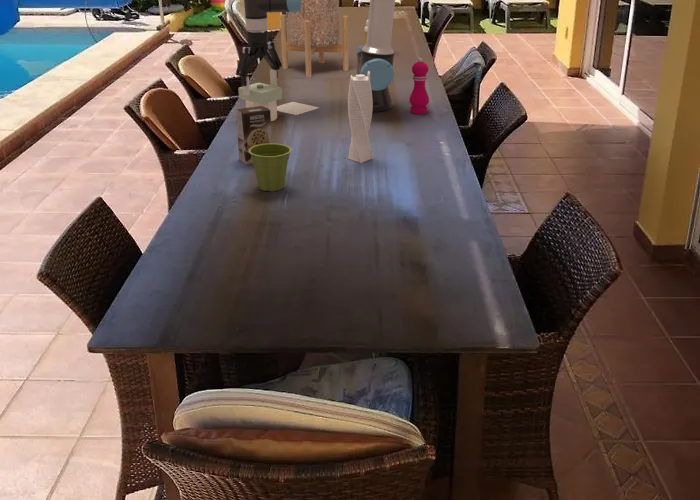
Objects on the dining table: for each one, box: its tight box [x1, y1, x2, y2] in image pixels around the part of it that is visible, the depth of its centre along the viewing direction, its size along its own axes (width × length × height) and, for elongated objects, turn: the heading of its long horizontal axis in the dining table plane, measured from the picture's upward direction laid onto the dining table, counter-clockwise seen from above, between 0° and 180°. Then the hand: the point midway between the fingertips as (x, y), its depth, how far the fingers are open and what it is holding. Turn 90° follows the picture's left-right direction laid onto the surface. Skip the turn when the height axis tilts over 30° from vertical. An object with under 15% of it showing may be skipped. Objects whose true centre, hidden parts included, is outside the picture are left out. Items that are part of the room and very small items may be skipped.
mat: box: [277, 101, 320, 116], centre depth 298 cm, size 14×13×1 cm
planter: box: [280, 0, 350, 78], centre depth 352 cm, size 22×23×32 cm
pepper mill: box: [408, 57, 430, 115], centre depth 289 cm, size 7×7×20 cm
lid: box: [238, 82, 283, 104], centre depth 282 cm, size 12×10×5 cm
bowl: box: [244, 100, 278, 122], centre depth 284 cm, size 11×11×8 cm
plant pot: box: [249, 142, 292, 192], centre depth 221 cm, size 12×12×11 cm
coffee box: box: [235, 106, 273, 165], centre depth 242 cm, size 9×6×16 cm
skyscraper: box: [344, 71, 377, 164], centre depth 239 cm, size 8×8×28 cm
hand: (260, 91), depth 282 cm, fingers open, 13 cm apart
